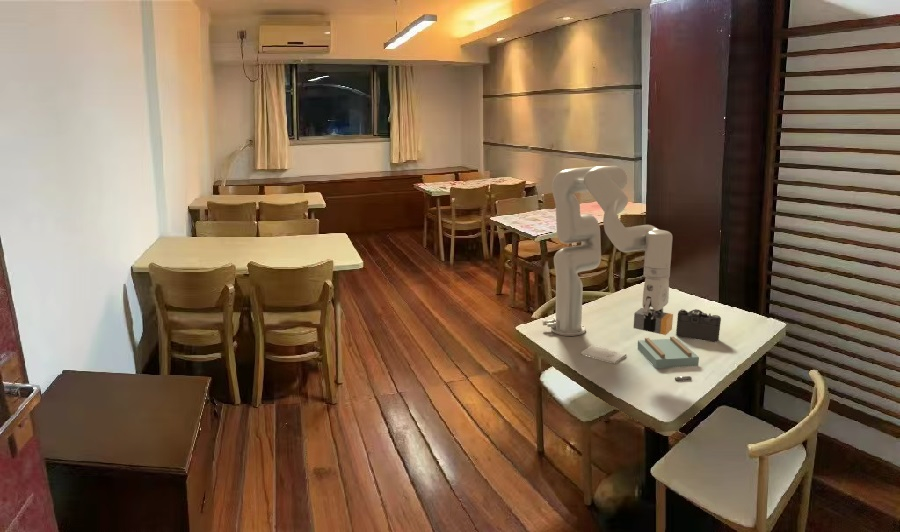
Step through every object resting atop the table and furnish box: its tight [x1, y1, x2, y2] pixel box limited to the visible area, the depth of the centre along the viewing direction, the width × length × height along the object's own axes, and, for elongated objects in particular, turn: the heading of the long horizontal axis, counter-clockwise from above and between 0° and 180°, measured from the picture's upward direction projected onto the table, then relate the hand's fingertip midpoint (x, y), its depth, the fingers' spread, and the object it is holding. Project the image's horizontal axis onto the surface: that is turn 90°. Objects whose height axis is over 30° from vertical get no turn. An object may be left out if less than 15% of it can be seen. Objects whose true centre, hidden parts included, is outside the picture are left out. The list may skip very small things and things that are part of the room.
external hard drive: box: [580, 344, 627, 365], centre depth 214 cm, size 2×8×12 cm
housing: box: [633, 307, 674, 336], centre depth 196 cm, size 10×6×5 cm, turn 53°
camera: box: [675, 308, 722, 343], centre depth 228 cm, size 14×11×10 cm
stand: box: [637, 336, 700, 369], centre depth 211 cm, size 14×16×4 cm
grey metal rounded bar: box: [674, 375, 693, 382], centre depth 195 cm, size 5×1×1 cm, turn 94°
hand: (652, 326), depth 196 cm, fingers closed on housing, 5 cm apart
